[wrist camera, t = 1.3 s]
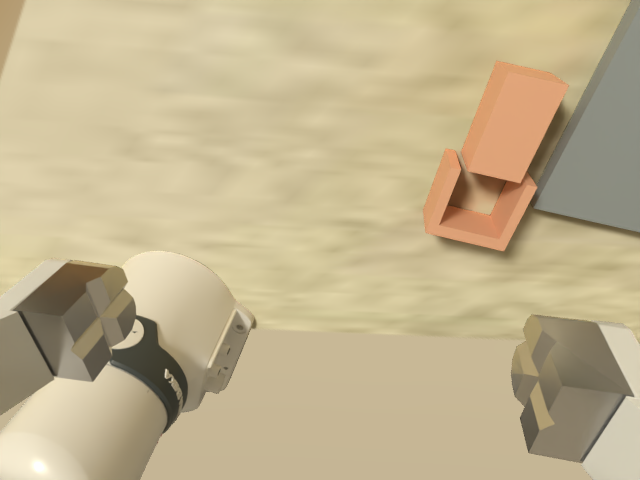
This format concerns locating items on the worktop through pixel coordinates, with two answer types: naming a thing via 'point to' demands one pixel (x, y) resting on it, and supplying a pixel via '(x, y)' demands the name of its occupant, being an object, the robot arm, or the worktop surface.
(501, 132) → the orange hollow block
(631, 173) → the board
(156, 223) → the worktop surface
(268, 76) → the worktop surface
